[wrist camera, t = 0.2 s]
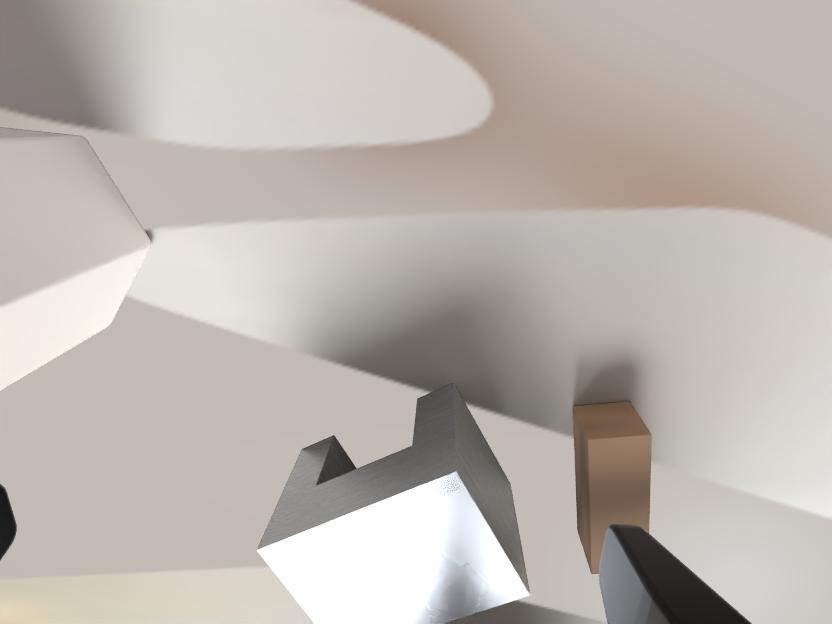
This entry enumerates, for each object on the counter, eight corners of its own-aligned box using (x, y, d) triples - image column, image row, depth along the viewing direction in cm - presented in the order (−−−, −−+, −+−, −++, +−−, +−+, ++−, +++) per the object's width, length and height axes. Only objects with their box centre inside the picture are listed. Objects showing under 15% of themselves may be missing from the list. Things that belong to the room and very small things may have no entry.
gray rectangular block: (510, 483, 24) (530, 595, 18) (364, 538, 25) (341, 656, 20) (453, 382, 22) (456, 471, 16) (301, 449, 24) (256, 550, 18)
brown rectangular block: (628, 527, 24) (648, 570, 22) (577, 530, 24) (591, 574, 22) (629, 401, 22) (651, 434, 19) (573, 406, 22) (588, 439, 20)
